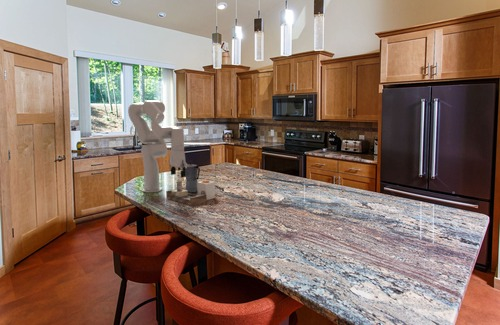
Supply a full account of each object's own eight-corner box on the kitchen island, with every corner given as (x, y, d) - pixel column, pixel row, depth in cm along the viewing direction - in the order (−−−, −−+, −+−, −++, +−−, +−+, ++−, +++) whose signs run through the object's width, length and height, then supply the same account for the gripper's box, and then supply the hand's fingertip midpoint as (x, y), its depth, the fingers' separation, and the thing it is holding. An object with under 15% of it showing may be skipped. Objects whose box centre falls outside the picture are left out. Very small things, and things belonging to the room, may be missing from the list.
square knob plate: (171, 195, 201) (171, 181, 200) (180, 193, 207) (180, 179, 205) (178, 197, 197) (178, 182, 195) (187, 195, 202) (187, 180, 201)
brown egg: (201, 187, 201) (201, 180, 201) (206, 186, 204) (206, 179, 204) (205, 188, 199) (205, 181, 198) (210, 187, 202) (210, 180, 201)
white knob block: (197, 198, 202) (196, 182, 201) (206, 195, 208) (205, 180, 206) (205, 200, 197) (205, 184, 195) (214, 197, 203) (214, 182, 201)
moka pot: (189, 188, 227) (188, 160, 224) (206, 191, 218) (205, 162, 215) (179, 191, 219) (178, 161, 216) (196, 194, 210) (195, 164, 207)
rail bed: (166, 198, 202) (166, 191, 201) (181, 194, 210) (180, 187, 209) (192, 205, 186) (191, 198, 185) (206, 201, 194) (206, 194, 194)
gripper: (163, 147, 200) (164, 174, 203) (181, 150, 189) (182, 179, 192) (174, 146, 206) (174, 172, 209) (191, 149, 194) (192, 177, 198)
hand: (178, 175), depth 200 cm, fingers open, 9 cm apart
